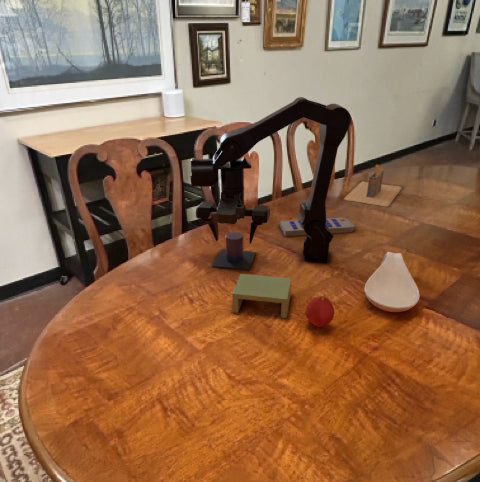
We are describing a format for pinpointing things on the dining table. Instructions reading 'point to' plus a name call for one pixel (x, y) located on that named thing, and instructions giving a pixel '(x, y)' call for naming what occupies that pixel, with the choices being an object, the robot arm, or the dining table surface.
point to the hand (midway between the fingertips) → (233, 241)
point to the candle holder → (234, 247)
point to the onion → (320, 311)
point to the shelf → (262, 291)
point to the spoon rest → (392, 285)
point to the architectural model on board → (374, 190)
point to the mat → (242, 265)
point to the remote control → (333, 224)
